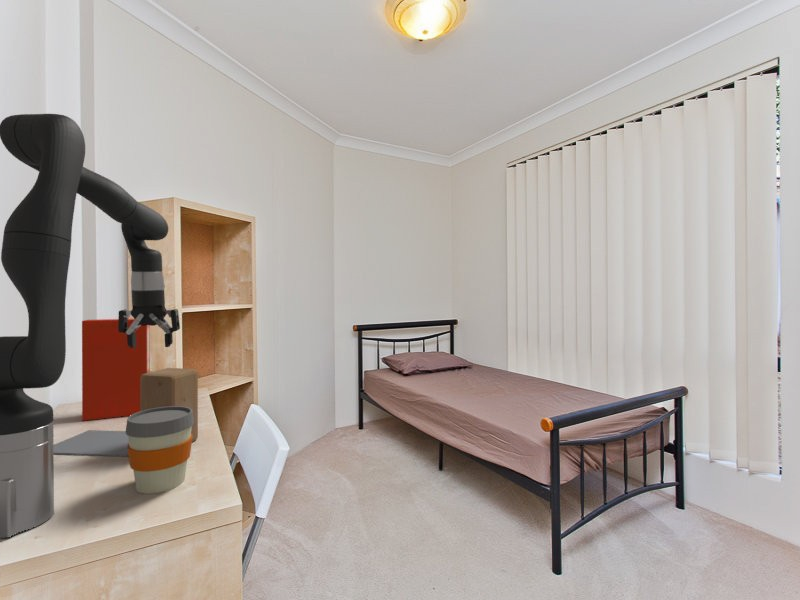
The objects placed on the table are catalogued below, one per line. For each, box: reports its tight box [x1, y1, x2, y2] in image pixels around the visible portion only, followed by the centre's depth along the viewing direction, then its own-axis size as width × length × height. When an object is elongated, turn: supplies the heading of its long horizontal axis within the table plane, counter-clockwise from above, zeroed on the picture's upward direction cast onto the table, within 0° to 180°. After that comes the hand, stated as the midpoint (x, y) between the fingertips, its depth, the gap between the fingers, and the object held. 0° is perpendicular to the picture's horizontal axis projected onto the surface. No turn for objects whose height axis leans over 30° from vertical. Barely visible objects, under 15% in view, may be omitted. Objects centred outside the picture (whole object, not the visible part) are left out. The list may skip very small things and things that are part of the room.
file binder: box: [81, 318, 151, 422], centre depth 131 cm, size 8×17×32 cm, turn 116°
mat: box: [53, 429, 129, 457], centre depth 106 cm, size 16×24×1 cm, turn 87°
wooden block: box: [140, 367, 199, 443], centre depth 105 cm, size 10×10×20 cm
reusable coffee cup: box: [125, 406, 194, 495], centre depth 84 cm, size 13×13×15 cm
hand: (150, 347), depth 107 cm, fingers open, 8 cm apart
